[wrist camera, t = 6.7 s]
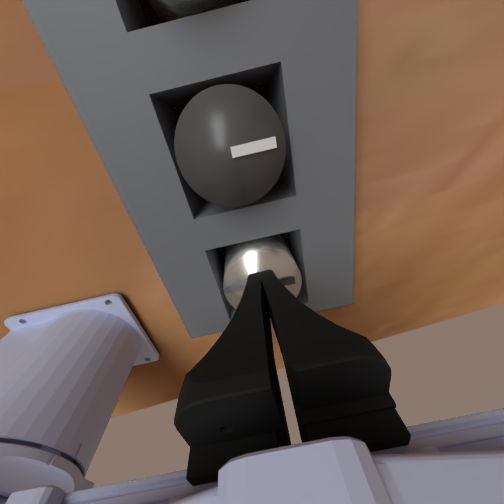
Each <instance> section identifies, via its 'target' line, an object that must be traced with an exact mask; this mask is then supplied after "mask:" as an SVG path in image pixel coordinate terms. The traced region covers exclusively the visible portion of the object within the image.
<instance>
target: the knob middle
mask: <svg viewBox="0 0 504 504" xmlns="http://www.w3.org/2000/svg"><path fill="white" fill-rule="evenodd" d="M174 149H175V156H176V160H177V163H178V166H179V169H180V171H181V173H182V175H183V177H184V179H185V180H186V182H187V183H188V184H189V186H190V187H191V188H192V189H193V190H194V191H195V192H196V193H197V194H199V195H200V196H201V197H203V198H204V199H206V200H208V201H210V202H212V203H214V204H217V205H221V206H228V207H238V206H244V205H247V204H250V203H253V202H255V201H257V200H258V199H260V198H262V197H263V196H264V195H265V194H267V193H268V192H269V191H270V190H271V189H272V187H273V186H274V185H275V183H276V182H277V180H278V178H279V177H280V174H281V172H282V169H283V166H284V162H285V156H286V139H285V134H284V130H283V126H282V123H281V121H280V119H279V117H278V115H277V113H276V112H275V110H274V109H273V107H272V106H271V105H270V104H269V102H268V101H267V100H265V99H264V98H263V97H262V96H261V95H259V94H258V93H257V92H255V91H253V90H251V89H249V88H247V87H244V86H241V85H235V84H221V85H215V86H212V87H209V88H207V89H205V90H203V91H201V92H200V93H198V94H197V95H196V96H194V97H193V98H192V99H191V100H190V101H189V102H188V104H187V105H186V107H185V108H184V109H183V111H182V113H181V115H180V117H179V120H178V122H177V126H176V130H175V138H174Z"/></svg>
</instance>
